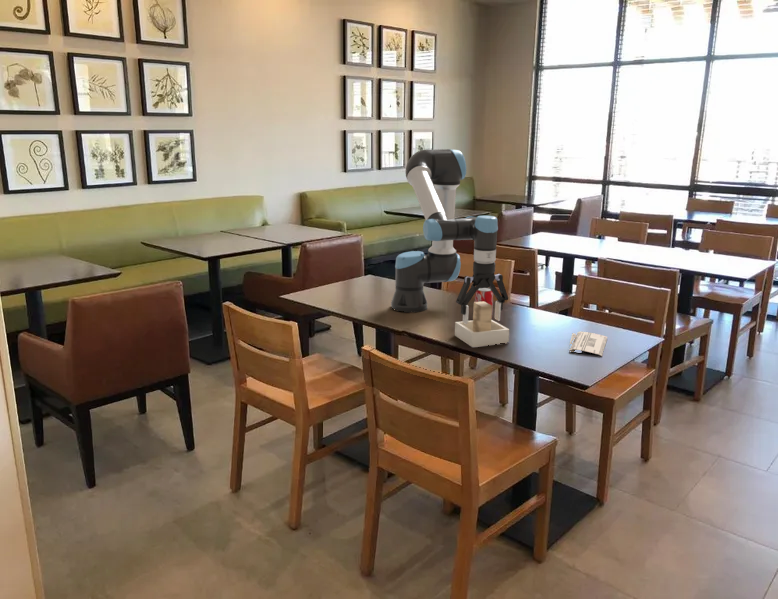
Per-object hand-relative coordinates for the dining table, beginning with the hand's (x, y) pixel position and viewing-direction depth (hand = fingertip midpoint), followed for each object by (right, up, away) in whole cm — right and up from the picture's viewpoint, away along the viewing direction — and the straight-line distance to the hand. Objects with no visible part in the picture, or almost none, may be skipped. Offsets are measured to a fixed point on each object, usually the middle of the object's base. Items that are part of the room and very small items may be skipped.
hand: (481, 321), depth 221 cm
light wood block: (0, -5, +1) cm, 6 cm away
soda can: (+5, 0, +26) cm, 27 cm away
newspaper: (+36, -9, -4) cm, 37 cm away
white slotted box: (0, -6, +1) cm, 7 cm away
